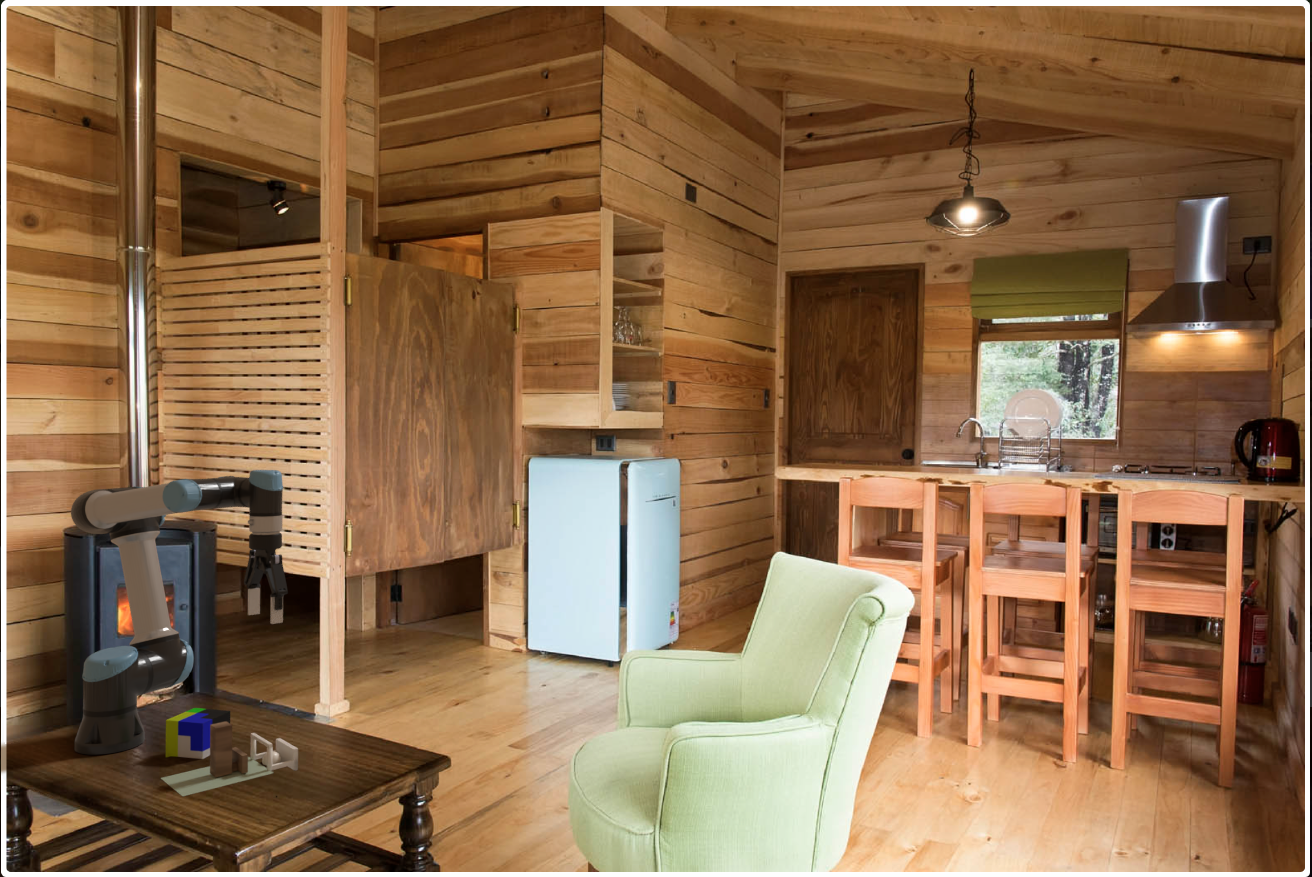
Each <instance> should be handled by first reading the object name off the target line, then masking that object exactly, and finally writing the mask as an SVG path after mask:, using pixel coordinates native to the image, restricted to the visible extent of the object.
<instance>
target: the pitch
mask: <svg viewBox="0 0 1312 877" xmlns="http://www.w3.org/2000/svg"><path fill="white" fill-rule="evenodd" d="M257 742H258V743H260V744H262V745H264V746H265V747H266V751H264V752H261V753H257ZM273 746H274V745H273V743H272V742H270V741H268V740H267V739H265V738H264V737H262V736H260V735H258V734H257V733H256V732H252V733H250V756H248V772H247V773H243V774H242V773H241V772H239V771H234V772H232V774H228V775H224V776H220V777H214V776H213V775H212V774H210V765H209V766H206V767H200V768H197V769H192V770H189V771H185V772H184V771H183V772H181V773H176V774H172V775H168V776H164V777H160V779H161V780H162V781H163V782H164V783H166V784H167V785H168V786H169V787H170V788H172V789H173V790H174V791H175V792H176V793H178V795H180V796H182V797H185V796H190V795H194V794H198V793H202V792H206V791H209V790H214V789H217V788H218V789H219V788H221V787H225V786H229V785H232V784H233V785H234V784H236V783H241V782H245V781H248V780H253V779H256V778H261V777H264V776H267V775H273V774H274V770H278V769H282V768H286V767H288V768H289V769H291V770H293V771H298V770H299V748H298V747H297V746H294V745H292V743H289V742H288V741H286V740H284V739H283V738H281V737H278V738H275V749H274V750H273V748H274V747H273ZM272 751H275V752H277V753H278V754H279V755H280V758H281V760H280V763H277V764H273V765H272ZM266 753H267V765H266V767H265V765H263V764H261V763H260V762H258V761H257V760H260V759H261V760H262V759H263V756H264V755H265V754H266Z"/></svg>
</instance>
